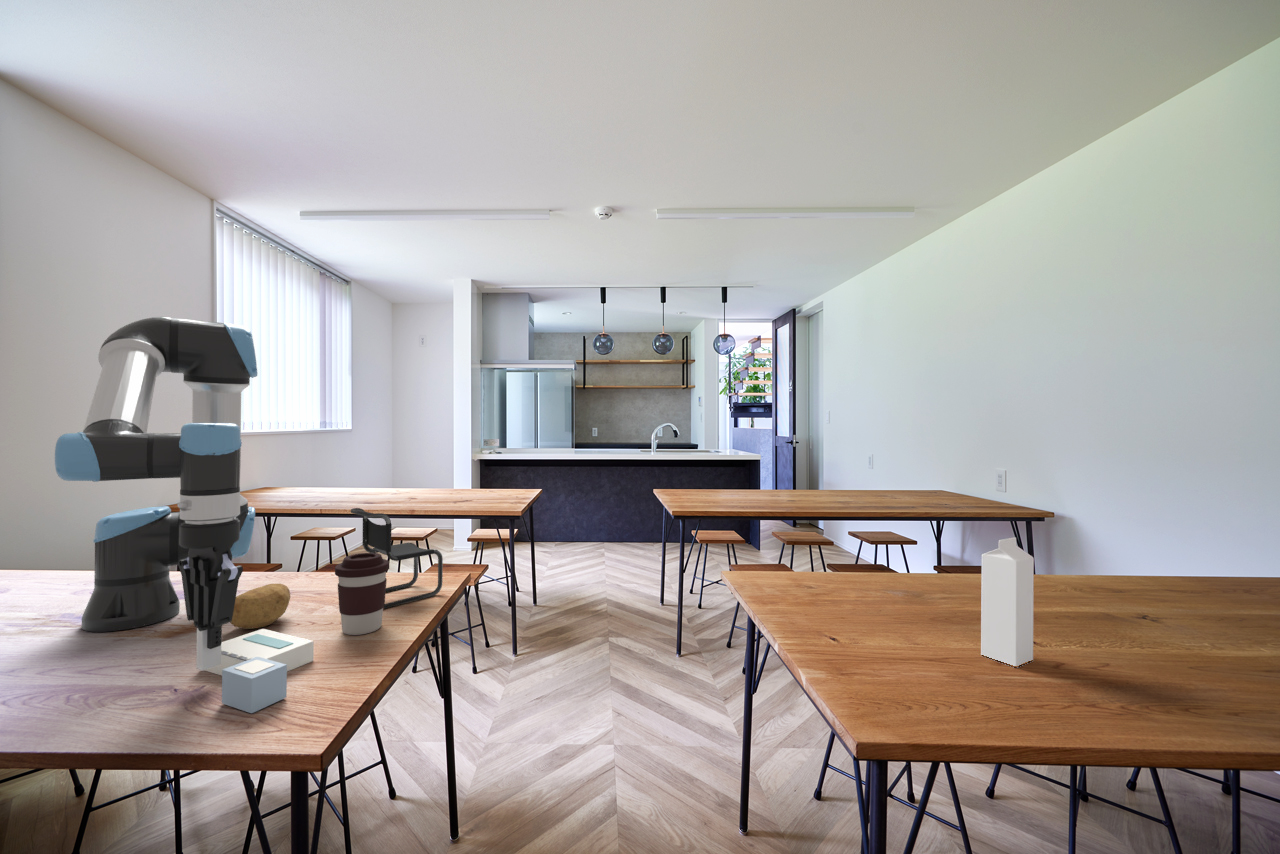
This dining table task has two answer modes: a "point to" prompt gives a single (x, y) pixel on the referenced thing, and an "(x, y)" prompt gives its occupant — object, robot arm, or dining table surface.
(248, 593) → the potato
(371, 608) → the coffee cup
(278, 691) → the light blue box
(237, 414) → the robot arm
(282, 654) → the white device
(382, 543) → the chair
